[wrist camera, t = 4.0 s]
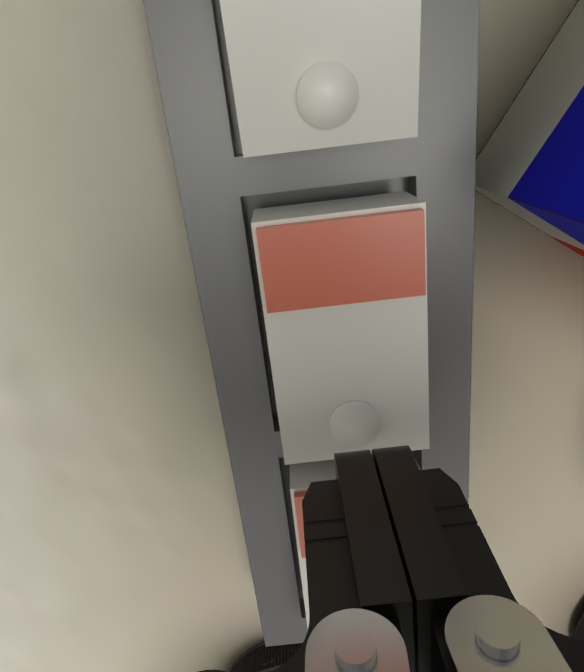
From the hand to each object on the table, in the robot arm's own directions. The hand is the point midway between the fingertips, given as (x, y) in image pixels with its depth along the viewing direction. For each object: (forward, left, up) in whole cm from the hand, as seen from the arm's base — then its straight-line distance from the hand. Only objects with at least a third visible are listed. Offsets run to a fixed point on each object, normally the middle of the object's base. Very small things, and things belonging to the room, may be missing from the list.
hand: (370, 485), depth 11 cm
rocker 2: (-2, 0, -4) cm, 4 cm away
